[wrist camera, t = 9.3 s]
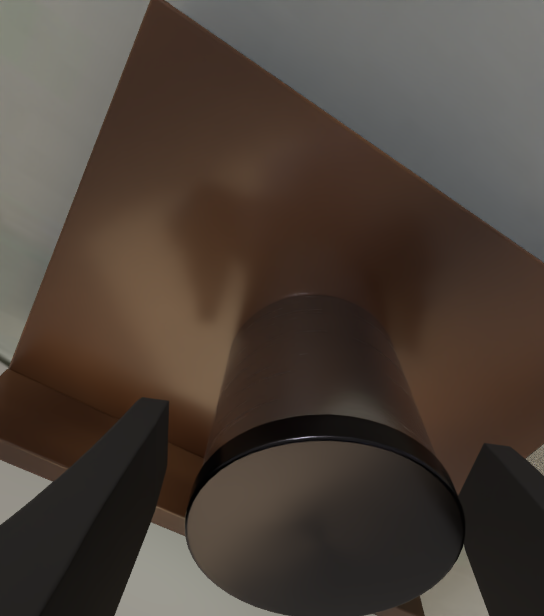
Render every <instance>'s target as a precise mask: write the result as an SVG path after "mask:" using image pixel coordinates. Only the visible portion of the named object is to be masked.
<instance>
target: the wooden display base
mask: <svg viewBox="0 0 544 616" xmlns="http://www.w3.org/2000/svg"><path fill="white" fill-rule="evenodd" d="M313 294H316V295H327V296H332V297H337V298H341V299H343V300H346V301H349V302H352V303H354V304H356V305H358V306H360V307H361V308H363V309H364V310H366V311H367V312H369V313H370V314H371V315H372V316H374V317H375V318H376V319H377V320H378V321H379V322H380V324H381V325H382V326H383V327H384V329H385V330H386V332H387V333H388V335H389V337H390V339H391V342H392V344H393V347H394V349H395V352H396V354H397V357H398V359H399V362H400V364H401V367H402V370H403V372H404V375H405V377H406V380H407V382H408V385H409V387H410V390H411V393H412V395H413V398H414V400H415V403H416V405H417V408H418V410H419V413H420V416H421V418H422V421H423V423H424V426H425V428H426V431H427V433H428V436H429V438H430V441H431V444H432V446H433V449H434V451H435V454H436V456H437V459H438V460H439V461H440V462H441V463H442V464H443V466H444V467H445V469H446V470H447V472H448V474H449V475H450V478H451V480H452V482H453V485H454V487H455V490H456V492H457V494H458V495H459V493H460V491H461V489H462V487H463V485H464V483H465V481H466V479H467V477H468V475H469V472H470V470H471V468H472V466H473V464H474V462H475V460H476V458H477V456H478V454H479V452H480V450H481V448H482V446H483V444H484V443H489V444H496V445H504V446H510V447H512V448H513V449H514V450H515V451H516V452H518V453H519V454H520V455H521V456H522V457H523V458H527V457H528V456H529V455H530V454H532V453H533V452H534V451H536V450H537V449H538V448H539V447H541V446H542V445H543V444H544V263H543V262H542V261H541V260H539V259H538V258H536V257H535V256H533V255H532V254H530V253H529V252H528V251H526V250H525V249H523V248H522V247H520V246H519V245H517V244H516V243H515V242H513V241H512V240H510V239H509V238H507V237H506V236H504V235H503V234H502V233H500V232H499V231H497V230H496V229H494V228H493V227H491V226H490V225H489V224H487V223H486V222H484V221H483V220H481V219H480V218H478V217H477V216H476V215H474V214H473V213H471V212H470V211H468V210H467V209H465V208H464V207H462V206H461V205H460V204H458V203H457V202H455V201H454V200H452V199H451V198H449V197H448V196H447V195H445V194H444V193H442V192H441V191H439V190H438V189H436V188H435V187H434V186H432V185H431V184H429V183H428V182H426V181H425V180H423V179H422V178H421V177H419V176H418V175H416V174H415V173H413V172H412V171H410V170H409V169H408V168H406V167H405V166H403V165H402V164H400V163H399V162H397V161H396V160H395V159H393V158H392V157H390V156H389V155H387V154H386V153H384V152H383V151H382V150H380V149H379V148H377V147H376V146H374V145H373V144H371V143H370V142H369V141H367V140H366V139H364V138H363V137H361V136H360V135H358V134H357V133H356V132H354V131H353V130H351V129H350V128H348V127H347V126H345V125H344V124H343V123H341V122H340V121H338V120H337V119H335V118H334V117H332V116H331V115H330V114H328V113H327V112H325V111H324V110H322V109H321V108H319V107H318V106H317V105H315V104H314V103H312V102H311V101H309V100H308V99H306V98H305V97H304V96H302V95H301V94H299V93H298V92H296V91H295V90H293V89H292V88H291V87H289V86H288V85H286V84H285V83H283V82H282V81H280V80H279V79H278V78H276V77H275V76H273V75H272V74H270V73H269V72H267V71H266V70H264V69H263V68H262V67H260V66H259V65H257V64H256V63H254V62H253V61H251V60H250V59H249V58H247V57H246V56H244V55H243V54H241V53H240V52H238V51H237V50H236V49H234V48H233V47H231V46H230V45H228V44H227V43H225V42H224V41H223V40H221V39H220V38H218V37H217V36H215V35H214V34H212V33H211V32H210V31H208V30H207V29H205V28H204V27H202V26H201V25H199V24H198V23H197V22H195V21H194V20H192V19H191V18H189V17H188V16H186V15H185V14H184V13H182V12H181V11H179V10H178V9H176V8H175V7H173V6H172V5H171V4H169V3H168V2H166V1H165V0H150V3H149V5H148V8H147V10H146V13H145V16H144V18H143V21H142V23H141V26H140V29H139V31H138V34H137V36H136V39H135V42H134V44H133V47H132V49H131V52H130V54H129V57H128V60H127V62H126V65H125V67H124V70H123V73H122V75H121V78H120V80H119V83H118V86H117V88H116V91H115V93H114V96H113V99H112V101H111V104H110V106H109V109H108V112H107V114H106V117H105V119H104V122H103V125H102V127H101V130H100V132H99V135H98V138H97V140H96V143H95V145H94V148H93V150H92V153H91V156H90V158H89V161H88V163H87V166H86V169H85V171H84V174H83V176H82V179H81V182H80V184H79V187H78V189H77V192H76V195H75V197H74V200H73V202H72V205H71V208H70V210H69V213H68V215H67V218H66V221H65V223H64V226H63V228H62V231H61V234H60V236H59V239H58V241H57V244H56V246H55V249H54V252H53V254H52V257H51V259H50V262H49V265H48V267H47V270H46V272H45V275H44V278H43V280H42V283H41V285H40V288H39V291H38V293H37V296H36V298H35V301H34V304H33V306H32V309H31V311H30V314H29V317H28V319H27V322H26V324H25V327H24V329H23V332H22V335H21V337H20V340H19V342H18V345H17V348H16V350H15V353H14V355H13V358H12V361H11V363H10V366H9V368H8V369H7V370H6V371H5V372H4V373H3V374H2V375H1V376H0V460H2V461H4V462H7V463H9V464H12V465H14V466H16V467H19V468H22V469H24V470H26V471H29V472H31V473H33V474H36V475H38V476H41V477H43V478H45V479H48V480H50V481H55V480H56V479H57V478H58V477H59V476H60V475H62V474H63V473H64V472H65V471H66V470H67V469H68V468H70V467H71V466H72V465H73V464H74V463H75V462H76V461H77V460H78V459H79V458H80V457H81V456H82V455H83V454H85V453H86V452H87V451H88V450H89V449H90V448H91V447H92V446H93V445H94V444H95V443H96V442H97V441H98V440H99V439H100V438H101V437H102V436H103V435H104V434H105V433H106V432H107V431H108V430H109V429H110V428H111V427H112V426H113V425H114V424H115V423H116V422H117V421H118V420H119V419H120V418H121V417H122V416H123V415H124V414H125V413H126V412H127V411H128V410H129V409H130V408H131V407H132V406H133V405H134V403H135V402H136V401H137V400H139V399H140V398H142V397H145V398H153V399H160V400H168V401H169V426H168V459H167V469H166V473H165V476H164V480H163V484H162V488H161V491H160V495H159V499H158V502H157V506H156V509H155V512H154V515H153V517H152V520H151V522H152V523H154V524H157V525H159V526H162V527H164V528H167V529H169V530H171V531H174V532H176V533H179V534H181V535H184V536H185V525H184V520H185V514H186V509H187V505H188V501H189V497H190V493H191V489H192V486H193V484H194V481H195V478H196V476H197V474H198V473H199V471H200V469H201V468H202V465H203V461H204V457H205V453H206V449H207V444H208V440H209V436H210V432H211V428H212V423H213V419H214V415H215V411H216V407H217V403H218V398H219V394H220V390H221V386H222V382H223V377H224V373H225V369H226V365H227V361H228V357H229V352H230V349H231V346H232V343H233V340H234V338H235V337H236V335H237V333H238V331H239V330H240V329H241V327H242V326H243V325H244V323H245V322H246V321H247V320H248V319H249V318H250V317H251V316H253V315H254V314H255V313H257V312H258V311H259V310H261V309H263V308H264V307H266V306H268V305H269V304H272V303H274V302H277V301H279V300H282V299H285V298H289V297H293V296H299V295H313ZM374 614H375V615H377V616H425V615H424V611H423V607H422V603H421V599H420V596H418V597H416V598H414V599H412V600H410V601H409V602H407V603H404V604H402V605H399V606H397V607H394V608H391V609H388V610H385V611H381V612H378V613H374Z"/></svg>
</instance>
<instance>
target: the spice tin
mask: <svg viewBox="0 0 544 616" xmlns="http://www.w3.org/2000/svg"><path fill="white" fill-rule="evenodd" d="M184 525H185V537H186V541H187V545H188V548H189V550H190V553H191V555H192V557H193V559H194V561H195V562H196V564H197V565H198V567H199V568H200V569H201V570H202V572H203V573H204V574H205V575H206V576H207V577H208V578H209V579H210V580H211V581H212V582H213V583H215V584H216V585H217V586H218V587H220V588H221V589H222V590H224V591H225V592H227V593H228V594H230V595H232V596H234V597H235V598H237V599H239V600H241V601H243V602H246V603H248V604H250V605H253V606H255V607H258V608H261V609H264V610H267V611H270V612H274V613H279V614H283V615H288V616H364V615H369V614H374V613H378V612H381V611H385V610H388V609H391V608H394V607H397V606H399V605H402V604H404V603H407V602H409V601H410V600H412V599H414V598H416V597H418V596H420V595H422V594H423V593H425V592H426V591H428V590H429V589H431V588H432V587H433V586H434V585H436V584H437V583H438V582H439V581H440V580H442V579H443V577H444V576H445V575H446V574H447V573H448V572H449V571H450V570H451V568H452V567H453V565H454V564H455V562H456V561H457V559H458V557H459V555H460V552H461V550H462V548H463V543H464V539H465V526H466V520H465V515H464V510H463V507H462V504H461V502H460V499H459V497H458V494H457V492H456V490H455V487H454V485H453V482H452V480H451V478H450V475H449V474H448V472H447V470H446V469H445V467H444V466H443V464H442V463H441V462H440V461H439V460H438V459H437V456H436V454H435V451H434V449H433V446H432V444H431V441H430V438H429V436H428V433H427V431H426V428H425V426H424V423H423V421H422V418H421V416H420V413H419V410H418V408H417V405H416V403H415V400H414V398H413V395H412V393H411V390H410V387H409V385H408V382H407V380H406V377H405V375H404V372H403V370H402V367H401V364H400V362H399V359H398V357H397V354H396V352H395V349H394V347H393V344H392V342H391V339H390V337H389V335H388V333H387V332H386V330H385V329H384V327H383V326H382V325H381V324H380V322H379V321H378V320H377V319H376V318H375V317H374V316H372V315H371V314H370V313H369V312H367V311H366V310H364V309H363V308H361V307H360V306H358V305H356V304H354V303H352V302H349V301H346V300H343V299H341V298H337V297H332V296H327V295H316V294H313V295H299V296H293V297H289V298H285V299H282V300H279V301H277V302H274V303H272V304H269V305H268V306H266V307H264V308H263V309H261V310H259V311H258V312H257V313H255V314H254V315H253V316H251V317H250V318H249V319H248V320H247V321H246V322H245V323H244V325H243V326H242V327H241V329H240V330H239V331H238V333H237V335H236V337H235V338H234V340H233V343H232V346H231V349H230V352H229V357H228V361H227V365H226V369H225V373H224V377H223V382H222V386H221V390H220V394H219V398H218V403H217V407H216V411H215V415H214V419H213V423H212V428H211V432H210V436H209V440H208V444H207V449H206V453H205V457H204V461H203V465H202V468H201V469H200V471H199V473H198V474H197V476H196V478H195V481H194V484H193V486H192V489H191V493H190V497H189V501H188V505H187V509H186V514H185V520H184Z"/></svg>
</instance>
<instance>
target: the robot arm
mask: <svg viewBox="0 0 544 616" xmlns="http://www.w3.org/2000/svg"><path fill="white" fill-rule="evenodd" d="M168 426H169V401H168V400H160V399H153V398H145V397H142V398H140V399H139V400H137V401H136V402H135V403H134V405H133V406H132V407H131V408H130V409H129V410H128V411H127V412H126V413H125V414H124V415H123V416H122V417H121V418H120V419H119V420H118V421H117V422H116V423H115V424H114V425H113V426H112V427H111V428H110V429H109V430H108V431H107V432H106V433H105V434H104V435H103V436H102V437H101V438H100V439H99V440H98V441H97V442H96V443H95V444H94V445H93V446H92V447H91V448H90V449H89V450H88V451H87V452H86V453H85V454H83V455H82V456H81V457H80V458H79V459H78V460H77V461H76V462H75V463H74V464H73V465H72V466H71V467H70V468H68V469H67V470H66V471H65V472H64V473H63V474H62V475H60V476H59V477H58V478H57V479H56V480H55V481H53V482H52V483H51V484H50V485H49V486H48V487H47V488H45V489H44V490H43V491H42V492H41V493H39V494H38V495H37V496H36V497H35V498H34V499H33V500H31V501H30V502H29V503H28V504H26V505H25V506H24V507H23V508H21V509H20V510H19V511H18V512H16V513H15V514H14V515H13V516H11V517H10V518H9V519H8V520H6V521H5V522H4V523H3V524H1V525H0V616H114V615H115V613H116V610H117V607H118V604H119V602H120V599H121V597H122V595H123V592H124V589H125V587H126V584H127V582H128V579H129V577H130V574H131V572H132V569H133V566H134V564H135V561H136V558H137V556H138V554H139V551H140V548H141V546H142V543H143V541H144V538H145V536H146V533H147V530H148V528H149V525H150V523H151V520H152V517H153V515H154V512H155V509H156V506H157V502H158V499H159V495H160V491H161V488H162V484H163V480H164V476H165V473H166V469H167V459H168ZM458 497H459V499H460V502H461V504H462V507H463V510H464V515H465V520H466V526H465V539H464V547H465V550H466V553H467V556H468V559H469V562H470V564H471V567H472V570H473V573H474V575H475V578H476V581H477V584H478V586H479V589H480V592H481V594H482V597H483V600H484V602H485V605H486V608H487V610H488V613H489V616H544V476H543V475H542V474H541V473H540V472H539V471H538V470H537V469H536V468H535V467H533V466H532V465H531V464H530V463H529V462H528V461H527V460H526V459H525V458H523V457H522V456H521V455H520V454H519V453H518V452H516V451H515V450H514V449H513V448H512V447H510V446H504V445H496V444H489V443H484V444H483V446H482V448H481V450H480V452H479V454H478V456H477V458H476V460H475V462H474V464H473V466H472V468H471V470H470V472H469V475H468V477H467V479H466V481H465V483H464V485H463V487H462V489H461V491H460V493H459V495H458Z"/></svg>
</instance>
